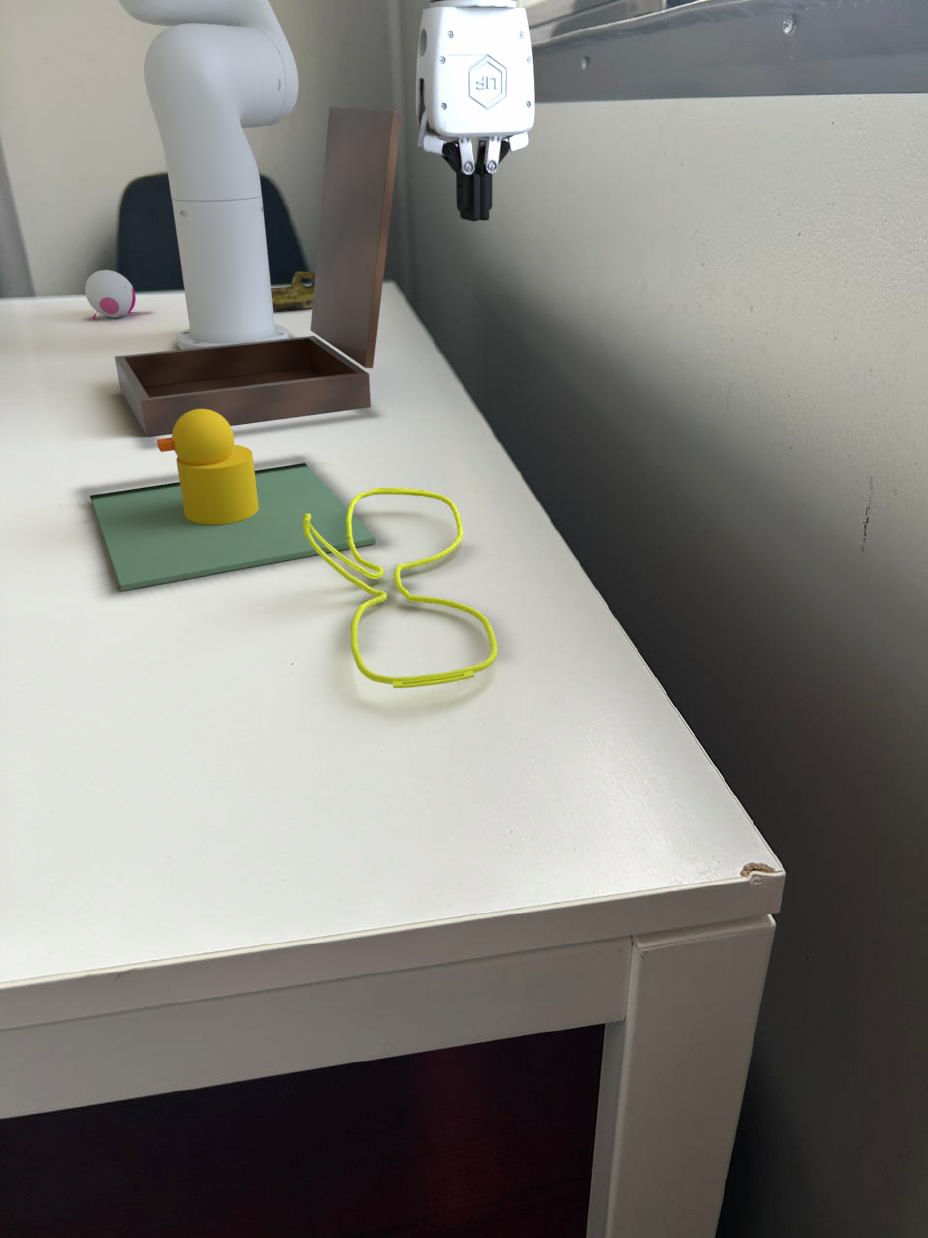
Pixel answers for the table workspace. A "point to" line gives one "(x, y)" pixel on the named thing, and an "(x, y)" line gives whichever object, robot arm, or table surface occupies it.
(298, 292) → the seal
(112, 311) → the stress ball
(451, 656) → the table surface
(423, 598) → the glasses
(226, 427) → the duck
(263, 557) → the mat
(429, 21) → the robot arm
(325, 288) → the lid
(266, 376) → the chest
